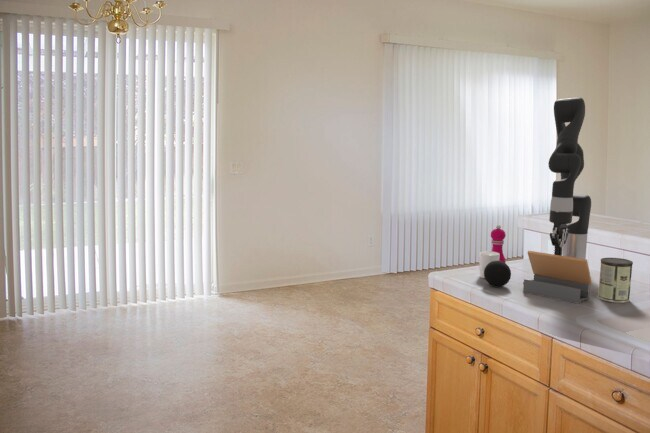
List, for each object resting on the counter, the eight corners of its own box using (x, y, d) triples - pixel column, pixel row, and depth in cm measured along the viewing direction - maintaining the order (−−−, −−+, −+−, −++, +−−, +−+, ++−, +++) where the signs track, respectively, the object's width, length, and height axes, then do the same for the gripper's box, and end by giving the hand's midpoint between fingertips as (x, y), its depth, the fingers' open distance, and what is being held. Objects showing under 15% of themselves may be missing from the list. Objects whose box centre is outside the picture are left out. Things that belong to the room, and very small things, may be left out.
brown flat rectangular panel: (533, 274, 227) (534, 272, 227) (590, 284, 213) (591, 282, 213) (527, 252, 220) (528, 250, 220) (586, 261, 206) (586, 259, 207)
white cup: (494, 274, 246) (496, 251, 244) (500, 279, 238) (502, 255, 237) (475, 274, 246) (477, 251, 244) (481, 279, 238) (482, 255, 236)
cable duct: (534, 287, 227) (535, 274, 226) (588, 297, 214) (589, 284, 213) (523, 292, 220) (524, 279, 219) (578, 303, 207) (579, 289, 206)
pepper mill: (505, 274, 247) (508, 226, 244) (487, 273, 248) (490, 226, 245) (504, 270, 254) (506, 224, 251) (486, 269, 255) (489, 223, 252)
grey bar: (524, 285, 226) (525, 279, 225) (587, 297, 210) (588, 291, 210) (521, 286, 224) (522, 280, 223) (585, 299, 209) (586, 292, 208)
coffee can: (608, 293, 220) (611, 256, 218) (635, 300, 211) (639, 261, 209) (591, 297, 215) (594, 259, 212) (618, 304, 206) (622, 264, 204)
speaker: (495, 281, 235) (497, 257, 233) (515, 287, 226) (517, 262, 225) (477, 284, 229) (478, 259, 228) (497, 291, 221) (498, 264, 219)
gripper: (557, 206, 219) (554, 252, 222) (543, 210, 210) (540, 258, 212) (578, 208, 214) (575, 255, 217) (565, 212, 205) (561, 261, 207)
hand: (557, 256), depth 215 cm, fingers closed
